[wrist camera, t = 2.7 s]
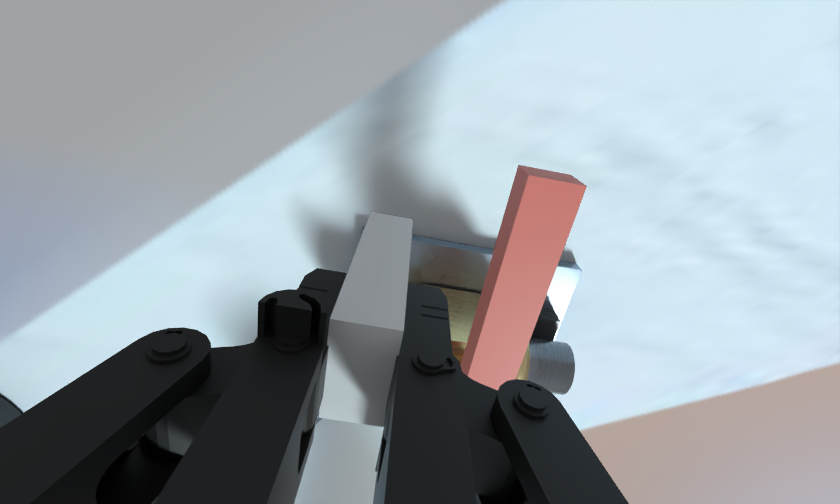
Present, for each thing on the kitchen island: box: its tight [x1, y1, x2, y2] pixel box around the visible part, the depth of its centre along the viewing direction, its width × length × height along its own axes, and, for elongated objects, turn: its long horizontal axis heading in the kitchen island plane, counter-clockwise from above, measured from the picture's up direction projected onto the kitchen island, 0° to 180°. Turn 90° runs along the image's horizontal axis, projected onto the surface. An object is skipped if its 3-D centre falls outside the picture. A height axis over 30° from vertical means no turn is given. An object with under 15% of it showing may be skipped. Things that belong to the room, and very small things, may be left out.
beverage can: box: [294, 418, 384, 504], centre depth 36 cm, size 8×8×12 cm
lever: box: [460, 165, 587, 390], centre depth 22 cm, size 17×3×4 cm, turn 169°
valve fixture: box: [361, 226, 582, 395], centre depth 32 cm, size 18×14×10 cm
